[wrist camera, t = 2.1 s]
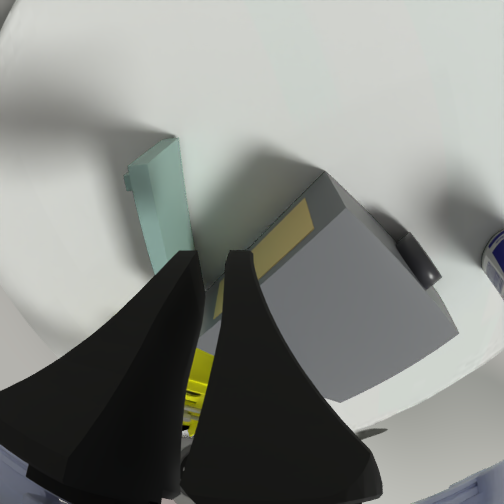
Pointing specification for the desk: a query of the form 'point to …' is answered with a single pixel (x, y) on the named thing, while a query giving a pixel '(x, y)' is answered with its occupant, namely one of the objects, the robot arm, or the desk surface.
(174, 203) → the side door
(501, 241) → the energy drink
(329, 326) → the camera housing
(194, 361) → the yellow toy chassis
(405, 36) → the desk surface
